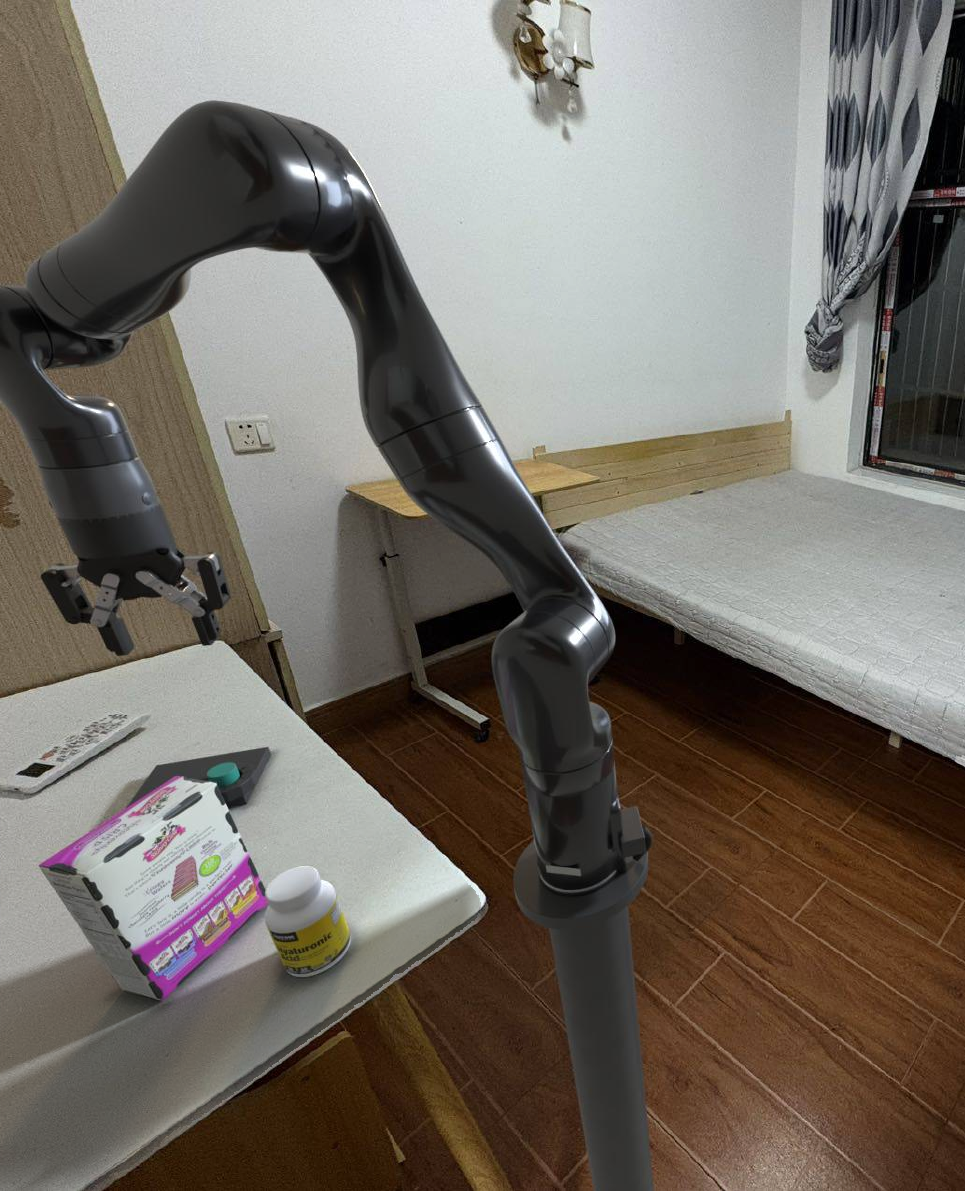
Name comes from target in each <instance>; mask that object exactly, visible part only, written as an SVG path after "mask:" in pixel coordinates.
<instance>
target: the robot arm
mask: <svg viewBox="0 0 965 1191" xmlns="http://www.w3.org/2000/svg"><path fill="white" fill-rule="evenodd" d="M255 248H256V249H259V250H264V251H268V252H274V253H289V254H291V253H292V254H293V253H294V254H306V255H308V256H309V257H310V258H311V259H312V260H313V262H314V263H315V264H316V266H317V268H318V269H319V270H320V272H321V273H322V275H323V277H324V278H325V279H326V281H327V282H328V284H329V285H330V287H331V289H332V291H333V292H334V294H335V296H336V298H337V299H338V302H339V303H340V305H341V308H342V309H343V310H344V313H345V315H346V317H347V319H348V322H349V324H350V327H351V330H352V334H353V337H354V342H355V351H356V361H357V362H356V363H357V365H356V366H357V388H358V397H359V406H360V412H361V415H362V416H361V417H362V418H363V423H364V426H365V429H366V430H367V433H368V435H369V437H370V439H371V440H372V442H373V444H374V445H375V447H376V448H377V450H378V452H379V453H380V456H382V459H383V460H384V461H385V463H386V464H387V466H388V468H389V469H390V470H391V472H392V474H393V476H394V477H395V478H396V481H397V482H398V483H399V485H400V486H401V488H402V489H403V490H404V492H405V493H406V495H407V496H408V498H410V500H411V501H412V502H413V503H414V504H415V505H416V506H417V507H418V508H420V510H422V511H423V512H424V513H425V514H427V515H428V516H429V517H430V518H432V520H435V521H436V522H437V523H439V524H440V525H441V526H443V527H444V528H446V529H448V530H449V531H450V532H452V533H453V534H454V535H456V536H458V538H459V537H460V539H463V540H464V541H465V542H467V543H468V544H470V545H471V546H473V547H474V548H475V549H477V550H478V551H479V552H480V553H482V554H483V555H484V556H485V557H487V559H489V560H490V561H491V562H492V563H493V565H495V567H496V568H497V569H498V571H499V572H500V573H501V575H502V576H503V578H504V579H505V580H506V582H507V584H508V585H509V586H510V588H511V590H512V592H513V593H514V595H515V596H516V599H517V600H518V602H519V605H520V607H521V608H522V611H523V612H522V613H521V614H519V615H518V616H517V617H516V618H514V619H513V620H512V621H511V622H510V623H509V624H508V625H506V626H505V627H504V628H503V629H501V631H500V632H499V633H498V634H497V636H496V637H495V639H494V641H493V644H492V648H491V661H490V662H491V670H492V677H493V681H494V686H495V689H496V693H497V698H498V701H499V705H500V710H501V713H502V718H503V722H504V726H505V728H506V731H507V733H508V735H509V736H510V738H511V740H512V741H513V742H514V744H515V745H516V747H517V748H518V753H519V760H520V765H521V766H520V767H521V771H522V777H523V783H524V789H525V795H526V801H527V806H528V812H529V818H530V824H531V830H532V836H533V840H534V842H535V848H536V854H537V862H538V871H539V877H540V880H541V882H542V884H543V885H544V886H545V888H547V889H548V890H549V891H551V892H552V893H555V894H557V895H561V896H568V897H574V896H582V895H586V894H590V893H592V892H595V891H597V890H599V889H601V888H603V887H604V886H606V885H607V884H608V883H610V882H611V881H612V880H613V879H614V878H615V877H616V876H617V875H619V874H622V873H625V872H626V860H625V858H626V857H630V856H632V857H633V859H634V860H635V861H639V860H640V858H641V857H642V856H643V855H644V854H645V853H646V852H647V851H648V852H649V850H650V848H652V845H653V842H654V836H653V834H652V832H651V830H649V828H648V827H646V825H645V824H644V825H642V819H641V816H640V812H639V808H638V805H635V806H630V807H626V808H621V803H620V799H619V794H618V784H617V772H616V763H615V762H616V761H615V755H614V754H615V752H614V740H613V729H612V721H611V717H610V715H609V714H608V711H607V710H606V709H604V708H603V707H602V706H601V705H599V704H597V703H595V702H593V701H590V698H589V684H590V683H591V682H592V680H593V679H594V678H595V677H596V675H597V674H598V673H599V672H600V671H601V670H602V669H603V667H604V666H605V665H606V663H607V662H608V661H609V659H610V658H611V656H612V654H613V652H614V649H615V646H616V630H615V627H614V623H613V620H612V618H611V616H610V614H609V612H608V610H607V609H606V607H605V605H604V604H603V602H602V600H601V599H600V597H599V596H598V594H597V593H596V591H595V590H594V589H593V588H592V586H591V584H590V583H589V581H588V580H587V578H585V576H584V574H583V573H582V572H581V570H580V568H579V567H578V566H577V565H576V563H575V562H574V561H573V559H572V558H571V557H570V555H569V553H568V552H567V551H566V549H565V547H564V546H563V545H562V543H561V542H560V540H559V539H558V537H557V535H556V534H555V532H554V530H553V529H552V527H551V525H550V524H549V522H548V520H547V518H546V516H545V515H544V513H543V512H542V509H541V508H540V506H539V504H538V503H537V501H536V500H535V497H534V496H533V494H532V493H531V491H530V489H529V488H528V486H527V484H526V483H525V481H524V479H523V478H522V476H521V474H520V473H519V471H518V469H517V467H516V465H515V463H514V461H513V459H512V458H511V457H512V456H511V455H510V453H509V451H508V450H507V449H508V448H506V445H505V444H504V442H503V440H502V439H501V436H500V435H499V432H498V431H497V429H496V427H495V426H494V424H493V422H492V420H491V419H490V417H489V414H488V413H487V411H486V410H485V408H484V406H483V404H482V402H481V401H480V399H479V397H478V396H477V394H476V392H475V391H474V389H473V388H472V386H471V384H470V383H469V381H468V379H467V378H466V376H465V374H464V372H463V371H462V369H461V367H460V365H459V363H458V362H457V359H456V357H455V356H454V354H453V352H452V350H451V348H450V347H449V344H448V343H447V340H446V339H445V337H444V335H443V333H442V332H441V329H440V327H439V325H438V324H437V322H436V321H435V318H434V317H433V315H432V313H431V311H430V309H429V307H428V306H427V303H426V302H425V300H424V297H423V296H422V294H421V292H420V290H419V287H418V285H417V284H416V281H415V279H414V277H413V275H412V272H411V271H410V268H409V266H408V264H407V261H406V259H405V257H404V255H403V253H402V250H401V248H400V246H399V244H398V241H397V239H396V236H395V235H394V232H393V230H392V228H391V225H390V223H389V221H388V218H387V216H386V214H385V212H384V210H383V208H382V206H381V203H380V201H379V199H378V197H377V195H376V193H375V191H374V189H373V186H372V185H371V183H370V181H369V179H368V177H367V175H366V174H365V171H364V170H363V169H362V167H361V165H360V163H359V162H358V161H357V159H356V158H355V157H354V155H353V154H352V153H351V151H350V150H349V149H348V148H347V147H346V146H345V145H344V144H343V143H342V142H341V141H340V140H339V139H338V138H337V137H335V135H332V134H331V133H330V132H328V131H327V130H325V129H323V128H322V127H319V126H317V125H316V124H313V123H310V122H307V121H306V120H301V119H299V118H295V117H292V116H288V115H287V116H286V115H284V114H280V113H277V112H272V111H269V110H264V109H261V108H257V107H255V106H251V105H247V104H243V103H239V102H232V101H225V100H213V99H212V100H205V101H202V102H198V103H195V104H193V105H192V106H190V107H189V108H187V109H185V110H184V111H183V112H182V113H181V114H180V115H178V116H177V117H176V118H175V119H174V120H173V121H172V122H171V123H170V124H169V125H168V126H167V128H166V129H165V130H164V131H163V132H162V134H161V135H160V136H159V137H158V139H157V140H156V142H155V143H154V144H153V146H152V147H151V149H150V150H149V151H148V153H146V155H145V157H143V159H142V161H141V162H140V163H139V164H138V166H137V167H136V168H135V170H134V171H133V172H132V173H131V174H130V176H129V177H128V178H127V179H126V181H125V182H124V184H122V186H121V188H120V189H119V190H118V191H117V193H116V194H115V196H113V198H112V199H111V201H110V202H109V203H108V204H107V205H106V207H105V208H104V209H103V210H102V211H101V213H99V214H98V215H97V216H96V217H95V218H94V219H93V220H91V221H90V222H89V223H88V224H86V225H85V226H84V227H82V228H80V229H79V230H78V231H76V232H75V233H73V234H71V235H70V236H68V237H67V238H65V239H63V240H62V241H61V242H59V243H58V244H56V245H55V246H52V247H51V248H50V249H48V250H47V251H46V252H44V253H43V254H41V255H40V256H39V257H37V258H36V259H35V260H34V261H33V262H31V264H30V265H29V267H28V269H27V270H26V273H25V277H24V278H25V279H24V285H12V284H11V285H10V284H9V285H5V284H4V285H1V284H0V403H1V405H2V406H3V408H5V409H6V411H7V412H8V413H9V415H10V416H11V417H12V418H13V419H14V421H15V422H16V424H17V425H18V426H19V428H20V431H21V434H22V436H23V438H24V440H25V443H26V444H27V448H29V452H30V453H31V456H32V458H33V460H34V462H35V465H36V466H37V469H38V472H39V475H40V479H41V484H42V486H43V490H44V492H45V495H46V497H47V499H48V504H49V506H50V508H51V509H52V510H53V512H54V514H55V517H56V518H57V521H58V524H59V525H60V527H61V529H62V532H63V534H64V536H65V539H66V540H67V542H68V545H69V547H70V549H71V552H72V553H73V554H74V555H75V556H76V557H77V559H78V561H77V564H69V565H68V564H66V563H62V562H60V563H57V564H55V565H53V566H51V567H50V568H48V569H46V570H45V571H44V572H42V573H41V574H40V579H41V581H42V583H43V585H44V587H45V588H46V589H47V591H48V593H49V595H50V597H51V598H52V600H53V601H54V603H55V605H56V606H57V608H58V610H59V612H60V613H61V616H62V617H63V619H64V620H65V621H66V623H67V624H70V625H78V624H87V625H91V626H93V627H95V628H96V629H97V631H98V633H99V635H100V637H101V639H102V641H103V643H104V646H105V648H106V649H107V650H108V651H109V652H110V653H113V652H114V654H115V656H117V657H123V656H128V655H130V653H131V652H132V651H133V650H134V649H135V644H134V641H133V639H132V637H131V635H130V632H129V630H128V628H127V626H126V623H125V621H124V619H123V617H118V616H117V615H118V613H119V610H120V608H121V606H122V603H123V601H124V602H125V601H133V600H137V599H141V598H148V599H155V598H164V599H166V600H167V601H168V602H170V603H171V604H173V605H178V606H179V607H181V608H182V609H184V610H185V611H186V612H187V613H189V614H191V615H192V617H191V621H192V624H193V626H194V628H195V631H196V633H197V636H198V638H199V642H200V644H201V645H202V646H203V647H207V646H212V645H213V644H214V643H215V642H216V641H217V639H218V638H219V636H220V635H221V632H222V629H221V627H220V623H219V621H218V618H217V616H216V613H215V610H216V611H217V610H221V609H223V608H224V606H225V605H226V604H227V603H228V601H229V600H230V599H231V598H232V595H231V592H230V588H229V585H228V580H227V576H226V573H225V570H224V566H223V563H222V558H221V556H220V554H219V553H218V552H216V551H208V552H207V553H206V554H204V555H186V554H185V553H183V552H182V551H181V550H180V549H179V548H178V546H177V545H176V539H175V536H174V534H173V531H172V528H171V525H170V523H169V521H168V519H167V515H166V512H165V510H164V507H163V505H162V502H161V500H160V498H159V495H158V493H157V490H156V487H155V485H154V482H153V479H152V477H151V475H150V473H149V471H148V470H147V468H146V466H145V464H144V463H143V461H142V459H141V456H140V455H139V453H138V450H137V447H136V445H135V442H134V439H133V437H132V434H131V432H130V429H129V426H128V424H127V421H126V418H125V417H124V414H123V413H122V410H121V408H120V407H119V406H118V405H117V404H116V403H115V401H112V400H111V399H109V398H106V397H104V396H99V395H93V394H92V395H91V394H78V393H65V392H64V391H62V390H61V389H60V388H59V387H58V386H56V385H55V384H54V382H52V380H51V379H50V378H49V377H48V376H47V374H46V373H45V371H54V370H67V369H80V368H89V367H95V366H99V365H103V364H106V363H108V362H110V361H112V360H115V359H116V358H118V357H119V356H120V355H121V354H122V353H123V351H124V350H125V348H126V347H127V345H128V343H130V341H131V339H132V337H133V335H134V333H135V332H136V331H138V330H140V329H142V328H143V327H146V326H147V325H149V324H151V323H152V322H155V321H156V320H158V319H160V318H161V317H163V316H165V315H166V314H168V313H169V312H171V311H172V310H174V309H175V308H176V307H177V306H178V305H179V304H180V303H181V302H182V301H183V300H184V299H185V297H186V295H187V293H188V291H189V288H190V286H191V279H192V278H191V277H192V269H193V267H195V266H197V265H198V264H199V263H201V262H203V261H205V260H208V259H211V258H214V257H217V256H220V255H221V256H222V255H224V254H228V253H231V252H232V253H233V252H236V251H240V250H245V249H255ZM186 568H188V569H190V570H191V571H192V572H193V574H194V575H195V576H197V577H200V578H201V579H200V580H201V583H202V586H203V589H204V592H205V593H203V592H202V591H200V590H199V589H198V586H197V584H195V583H194V582H193V581H191V579H189V578H188V577H186V576H185V575H184V574H183V573H184V571H185V569H186ZM82 578H83V579H84V580H86V581H88V582H89V583H91V584H93V585H94V586H96V587H98V588H99V591H98V593H97V596H96V599H95V602H94V604H93V606H92V604H91V602H90V601H89V600H90V599H88V596H87V595H86V593H85V591H84V590H83V588H82V587H81V586H82V585H80V583H81V582H82Z"/></svg>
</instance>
